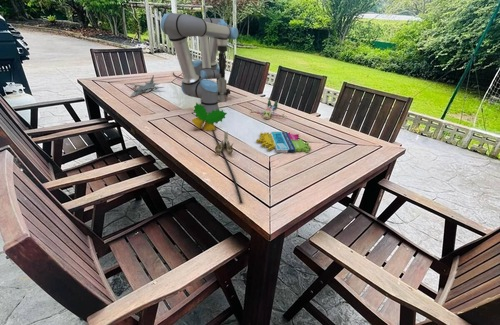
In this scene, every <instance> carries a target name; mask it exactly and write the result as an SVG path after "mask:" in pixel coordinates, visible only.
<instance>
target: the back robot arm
mask: <svg viewBox="0 0 500 325" xmlns="http://www.w3.org/2000/svg"><path fill="white" fill-rule="evenodd" d="M202 19H203V20H204V21H205V22H209V23H214V24H218V23H219V22H220V23H226V21H225V20H224V19H223V18H213V17H204V18H202ZM197 37H198V38H199V48H200V55H201V56H200V57H201V60H200V59H195V60H192V62H193V65H194V69H195V73H196V75H198V76H199V79H200V81H201V80H216V81H217V80H218V79H220V77H219V74H220V68H219V63H218V61H217V60H216V59H217V54H218V50H217V46H218V45H217V38H216V37H214V38H213V37H209V36H205V35H204V36H202V37H200V36H197ZM172 73H173V76H174V77H176V78H178V79H181V80H182V79H183V78H184V77H180V76H177V75H175V73H174V72H172ZM224 79H225V80H226V77H225V78H224ZM228 95H231V90H230V88H226V98H228Z"/></svg>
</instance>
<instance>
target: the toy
mask: <svg viewBox="0 0 500 325" xmlns="http://www.w3.org/2000/svg"><path fill="white" fill-rule="evenodd" d="M266 105H267V107H266V108H265V109H264V110H263V111H261V110H259V111H255V110H254V109H251V110H250V111H249V114H258V115H261V118H263V119H264V120H268V119H269V120H270V119H272V118H271V116H273V117H281V118H282V119H286V117H287V115H285V113H282V114H279V113H275V112H274V110H276V109H277V108H278V106H279V105H278V100H275V101H274V103H273V105H272V101H271V99H268V100H267V104H266Z"/></svg>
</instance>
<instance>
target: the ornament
mask: <svg viewBox="0 0 500 325" xmlns="http://www.w3.org/2000/svg"><path fill="white" fill-rule="evenodd" d="M219 110H220V108H219V109H217V110H216V111H214V110H212V112H211V113H208V112H206V109H204V106H201V103H198V102H195V105H194V106H193V112H194V113H195V118H192V119H191V122H192V123H193V125H195V127H197V128H198V129H202V130H203V131H206V132H213V131H212V130H214V131H215V130H216V126H215V124H218V123H219V122H223V119H226V115H227V114H228V113H227V112H224V110H223V109H221V110H220V111H219ZM207 113H208V115H207ZM214 123H215V124H214Z"/></svg>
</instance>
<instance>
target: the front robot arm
mask: <svg viewBox="0 0 500 325" xmlns="http://www.w3.org/2000/svg"><path fill="white" fill-rule="evenodd" d="M203 19H204V18H200V17H197V16H194V15H191V14H187V13H175V12H167V13H164V15H162V18H161V20H160V28H161V29H160V30H161V32H162V33H163V34H165V35H166V36H167V37H168V41H169V42H171V43H172V45H173V48H174V50H175V51H174V52H175V54H176V57H177V60H178V64H179V67H180V70H181V73H182V76H183V77H182V78H183V79H182V78H181V80H182V81H181V85H180V88H181V91H182V93H183V94H184V95H185V96H188V97H192V98H196V99H200V104H201V106H204V109H206V112H208V113H211V112H212V110H214V111H216V110H217V109H219V111H221V110H220V108H219V101H218V86H217V81H214V80H213V79H203V80H201V81H200V79H199V76H198V75H196V73H195V69H194V65H193V62H192V61H193V59H192V55H191V51H190V48H189V44H188V41H187V40H188V38H191V37H198V36H200V37H202V36H204V35H205V36H209V37H208V38H210V37H213V38H214V37H216V38H217V45H218V46H217V52H219V53H218V67H219V68H220V74H221V78H225V79H226V69H227V55H226V52H228V43H229V41H228V40H237V39H238V36H239V30H238V28H237V27H234V26H228V23H227V22H225V23H220V22H219V23H218V24H214V23H209V22H205V21H204V20H203ZM208 113H207V115H208ZM211 132H212V134H213V137H214V139H215V143H216V142H217V144H218V145H220V143H219V141H218V138H217V136H216V133H215V130H212V131H211ZM217 144H216V145H217ZM220 153H221V155H222V157H223V159H224V161H225V164H226V165H227V167H228V170H229V172H230V174H231V177H232V180H233V184H234V185H235V189H236V192H237V195H238V198H239V203H240V204H243V200H242V196H241V193H240V189H239V187H238V183H237V180H236V177H235V175H234V173H233V171H232V168H231V166H230V164H229V161H228V160H227V158H226V155H225V154H224V150H223V151H221V152H220Z"/></svg>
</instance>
